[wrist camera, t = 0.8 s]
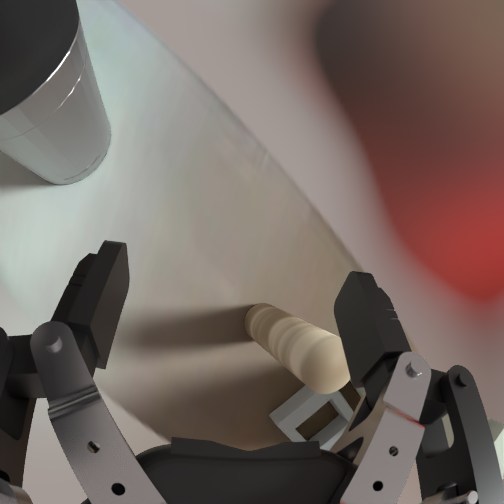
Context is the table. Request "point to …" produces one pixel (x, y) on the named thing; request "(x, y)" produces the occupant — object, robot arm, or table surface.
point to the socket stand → (311, 401)
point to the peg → (299, 347)
